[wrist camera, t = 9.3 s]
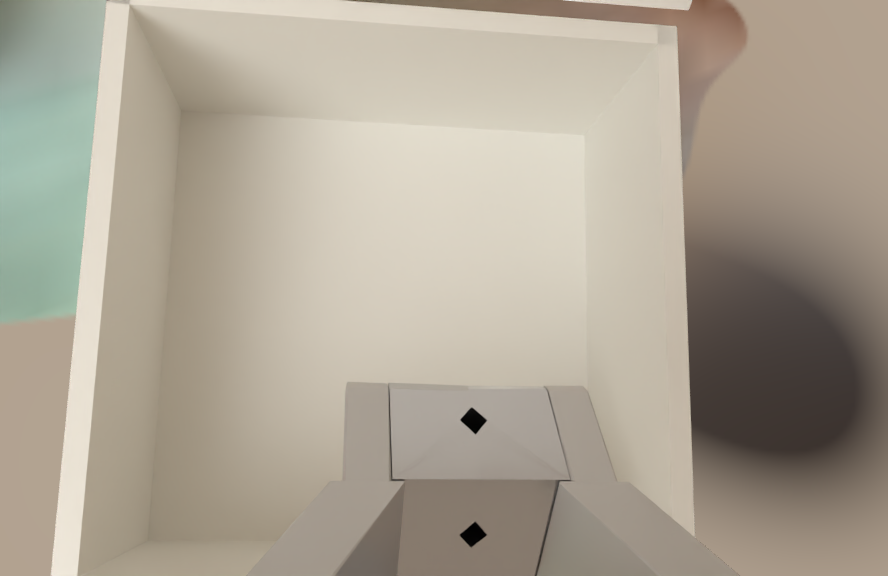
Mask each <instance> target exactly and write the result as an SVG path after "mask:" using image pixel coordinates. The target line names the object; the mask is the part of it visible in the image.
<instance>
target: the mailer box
mask: <svg viewBox="0 0 888 576" xmlns="http://www.w3.org/2000/svg"><path fill="white" fill-rule="evenodd" d="M685 268H686V267H685V239H684V210H683V182H682V153H681V125H680V97H679V68H678V40H677V26H668V25H655V24H642V23H629V22H616V21H603V20H591V19H578V18H565V17H552V16H539V15H526V14H513V13H500V12H487V11H474V10H462V9H449V8H436V7H423V6H410V5H397V4H384V3H371V2H358V1H346V0H107V2H106V12H105V23H104V33H103V43H102V54H101V64H100V74H99V84H98V95H97V105H96V115H95V126H94V136H93V146H92V157H91V167H90V177H89V187H88V198H87V208H86V218H85V229H84V239H83V249H82V260H81V270H80V280H79V291H78V301H77V311H76V321H75V333H74V342H73V352H72V363H71V374H70V384H69V394H68V404H67V415H66V425H65V436H64V445H63V455H62V467H61V476H60V487H59V497H58V508H57V517H56V528H55V538H54V548H53V558H52V569H51V576H246V575H247V574H248V573H249V572H250V571H251V569H252V568H253V567H254V566H255V565H256V564H257V563H258V562H259V560H260V559H261V558H262V557H263V556H264V555H265V554H266V553H267V551H268V550H269V549H270V548H271V547H272V546H273V545H274V543H275V542H276V541H277V540H278V539H279V538H280V537H281V536H282V534H283V533H284V532H285V531H286V530H287V529H288V528H289V527H290V525H291V524H292V523H293V522H294V521H295V520H296V519H297V518H298V516H299V515H300V514H301V513H302V512H303V511H304V510H305V509H306V507H307V506H308V505H309V504H310V503H311V502H312V501H313V500H314V498H315V497H316V496H317V495H318V494H319V493H320V492H321V491H322V489H323V488H324V487H325V486H326V485H327V484H328V483H329V481H342V476H343V446H344V417H345V390H346V385H347V382H367V383H386V384H387V386H388V383H411V384H436V385H461V386H541V387H544V386H583V387H584V388H585V389H586V390H587V391H588V393H589V396H590V399H591V403H592V406H593V409H594V412H595V415H596V418H597V421H598V424H599V427H600V430H601V433H602V436H603V439H604V442H605V445H606V448H607V451H608V454H609V457H610V460H611V463H612V466H613V469H614V473H615V476H616V479H617V482H630V483H631V484H632V485H633V486H634V487H636V488H637V489H638V490H639V491H640V492H642V493H643V494H644V495H645V496H646V497H648V498H649V499H650V500H651V501H652V502H653V503H655V504H656V505H657V506H658V507H659V508H661V509H662V510H663V511H664V512H665V513H666V514H668V515H669V516H670V517H671V518H672V519H674V520H675V521H676V522H677V523H678V524H679V525H681V526H682V527H683V528H684V529H685V530H687V531H688V532H689V533H690V534H691V535H693V536H694V537H695V526H694V525H695V523H694V496H693V466H692V441H691V440H692V439H691V411H690V410H691V409H690V384H689V383H690V382H689V354H688V353H689V352H688V324H687V299H686V298H687V296H686V269H685Z"/></svg>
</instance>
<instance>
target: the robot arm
mask: <svg viewBox="0 0 888 576" xmlns="http://www.w3.org/2000/svg"><path fill="white" fill-rule="evenodd" d="M246 576H740V575H739V574H737V573H736V572H735V571H734V570H733V569H732V568H730V567H729V566H728V565H727V564H725V563H724V562H723V561H722V560H721V559H720V558H719V557H717V556H716V555H715V554H714V553H712V552H711V551H710V550H709V549H708V548H707V547H706V546H704V545H703V544H702V543H701V542H699V541H698V540H697V539H696V538H695V537H694V536H693V535H691V534H690V533H689V532H688V531H687V530H685V529H684V528H683V527H682V526H681V525H679V524H678V523H677V522H676V521H675V520H674V519H672V518H671V517H670V516H669V515H668V514H666V513H665V512H664V511H663V510H662V509H661V508H659V507H658V506H657V505H656V504H655V503H653V502H652V501H651V500H650V499H649V498H648V497H646V496H645V495H644V494H643V493H642V492H640V491H639V490H638V489H637V488H636V487H634V486H633V485H632V484H631V483H630V482H617V479H616V476H615V473H614V469H613V466H612V463H611V460H610V457H609V454H608V451H607V448H606V445H605V442H604V439H603V436H602V433H601V430H600V427H599V424H598V421H597V418H596V415H595V412H594V409H593V406H592V403H591V399H590V396H589V393H588V391H587V390H586V389H585V388H584V387H583V386H544V387H541V386H461V385H436V384H411V383H388V386H387V384H386V383H367V382H347V385H346V390H345V417H344V446H343V476H342V481H329V483H328V484H327V485H326V486H325V487H324V488H323V489H322V491H321V492H320V493H319V494H318V495H317V496H316V497H315V498H314V500H313V501H312V502H311V503H310V504H309V505H308V506H307V507H306V509H305V510H304V511H303V512H302V513H301V514H300V515H299V516H298V518H297V519H296V520H295V521H294V522H293V523H292V524H291V525H290V527H289V528H288V529H287V530H286V531H285V532H284V533H283V534H282V536H281V537H280V538H279V539H278V540H277V541H276V542H275V543H274V545H273V546H272V547H271V548H270V549H269V550H268V551H267V553H266V554H265V555H264V556H263V557H262V558H261V559H260V560H259V562H258V563H257V564H256V565H255V566H254V567H253V568H252V569H251V571H250V572H249V573H248V574H247V575H246Z"/></svg>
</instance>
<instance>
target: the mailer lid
mask: <svg viewBox="0 0 888 576" xmlns="http://www.w3.org/2000/svg"><path fill="white" fill-rule="evenodd" d="M565 1H577V2H590V3H602V4H615V5H628V6H640V7H653V8H665V9H678V10H689V8H690V6H691V3H692V0H565Z"/></svg>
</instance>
